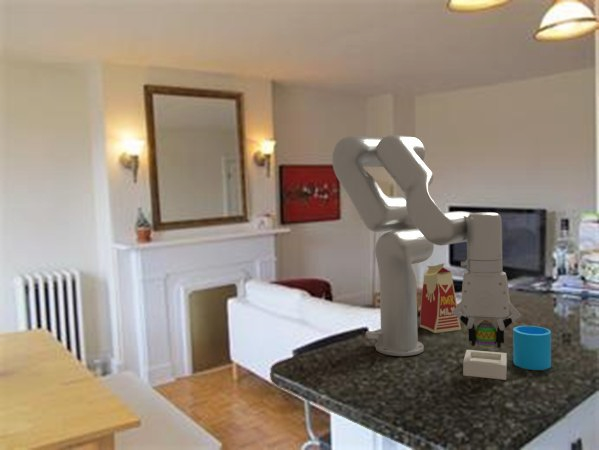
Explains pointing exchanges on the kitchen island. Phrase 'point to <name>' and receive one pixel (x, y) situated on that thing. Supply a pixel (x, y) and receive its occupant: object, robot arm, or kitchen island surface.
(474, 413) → the kitchen island surface
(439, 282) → the milk carton
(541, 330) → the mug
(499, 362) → the square tray
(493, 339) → the egg
